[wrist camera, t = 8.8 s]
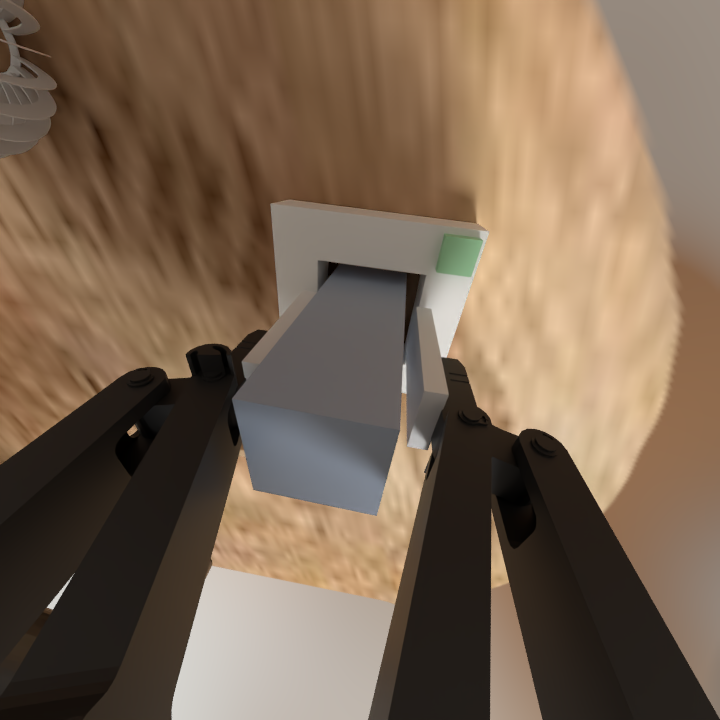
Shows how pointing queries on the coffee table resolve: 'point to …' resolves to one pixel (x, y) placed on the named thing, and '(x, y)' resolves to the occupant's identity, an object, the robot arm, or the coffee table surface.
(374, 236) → the port
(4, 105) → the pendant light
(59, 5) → the coffee table surface
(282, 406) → the plug
